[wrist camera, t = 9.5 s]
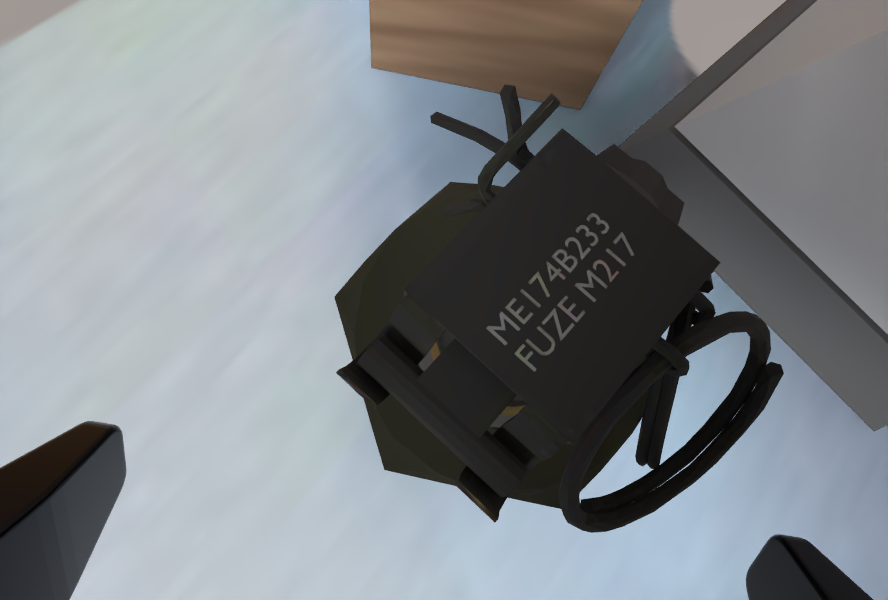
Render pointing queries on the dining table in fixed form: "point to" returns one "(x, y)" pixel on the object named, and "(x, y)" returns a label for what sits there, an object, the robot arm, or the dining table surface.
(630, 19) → the wooden panel
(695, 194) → the alarm clock
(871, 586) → the dining table surface
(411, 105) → the dining table surface
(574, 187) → the grenade
